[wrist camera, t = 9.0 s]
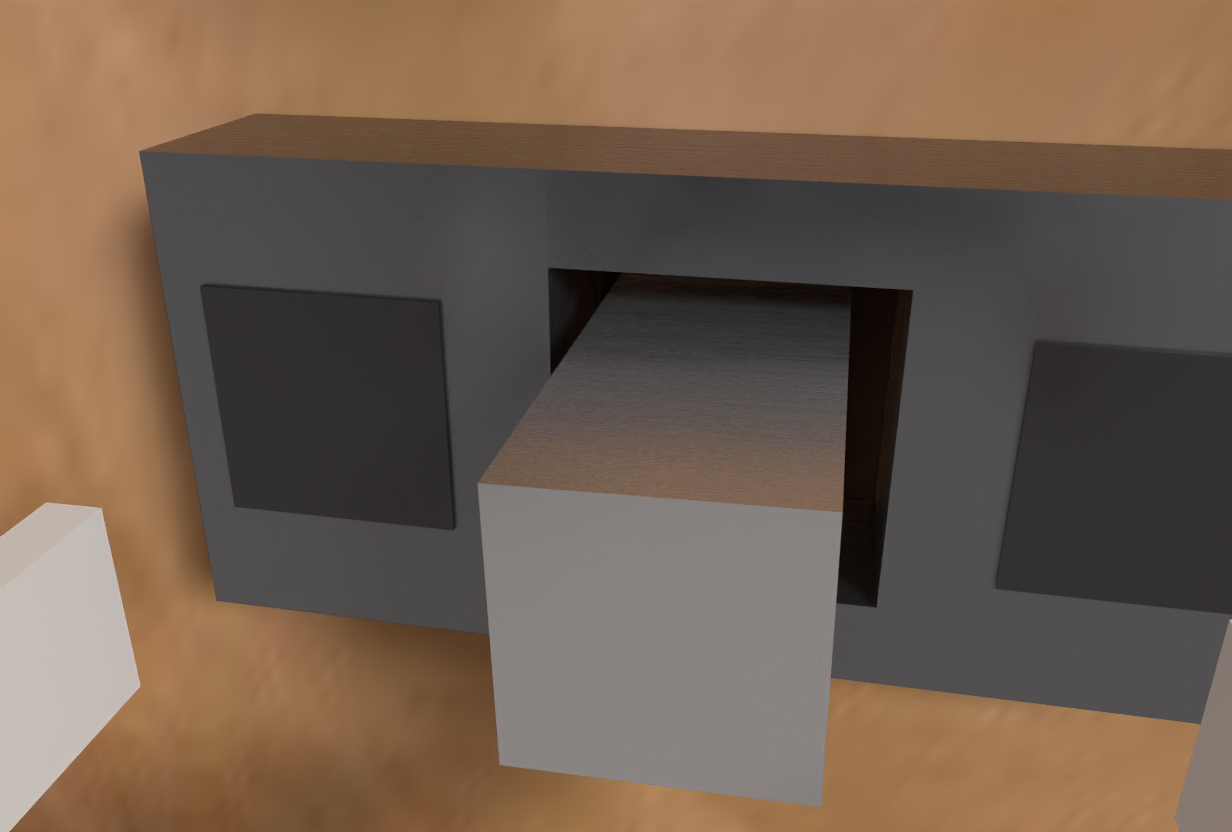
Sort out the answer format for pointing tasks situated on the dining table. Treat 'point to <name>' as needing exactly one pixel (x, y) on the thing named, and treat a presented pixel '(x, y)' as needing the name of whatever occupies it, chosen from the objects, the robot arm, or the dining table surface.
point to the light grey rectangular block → (675, 541)
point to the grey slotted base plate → (732, 249)
